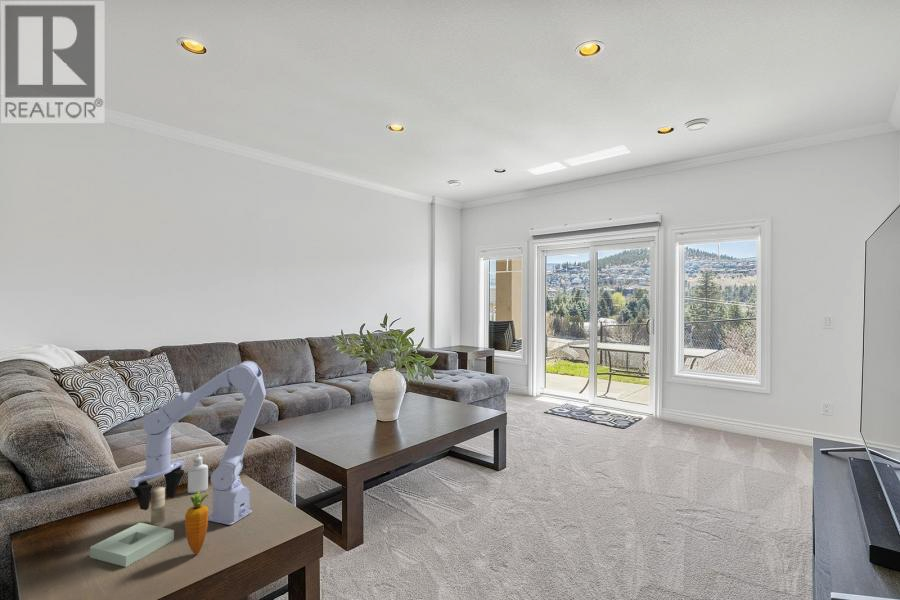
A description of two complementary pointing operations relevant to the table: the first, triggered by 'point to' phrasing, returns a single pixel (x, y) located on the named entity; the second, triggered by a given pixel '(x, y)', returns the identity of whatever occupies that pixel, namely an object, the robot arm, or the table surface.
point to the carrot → (196, 523)
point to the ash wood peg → (158, 505)
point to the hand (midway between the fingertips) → (157, 502)
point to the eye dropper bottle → (198, 476)
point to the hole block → (131, 544)
